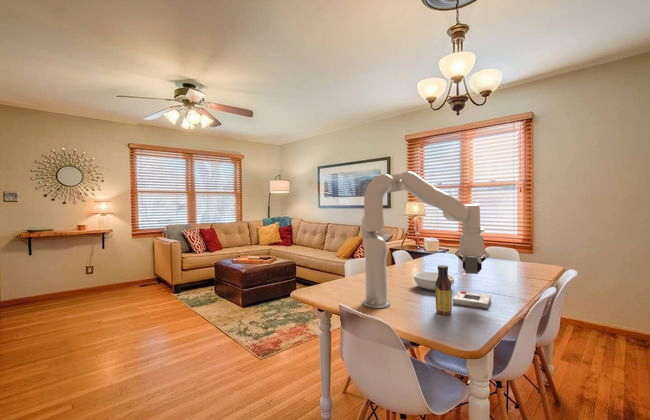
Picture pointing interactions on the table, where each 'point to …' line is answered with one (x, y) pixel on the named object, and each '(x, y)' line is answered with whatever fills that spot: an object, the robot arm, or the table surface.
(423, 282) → the serving bowl
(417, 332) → the table surface
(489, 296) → the socket plate
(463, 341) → the table surface
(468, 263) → the plug
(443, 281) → the sauce bottle
